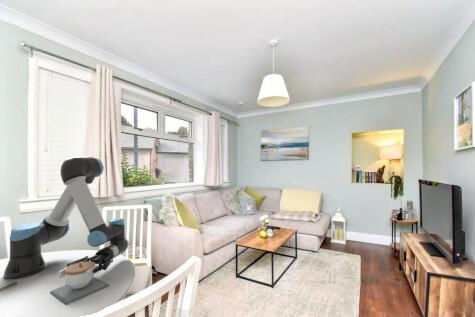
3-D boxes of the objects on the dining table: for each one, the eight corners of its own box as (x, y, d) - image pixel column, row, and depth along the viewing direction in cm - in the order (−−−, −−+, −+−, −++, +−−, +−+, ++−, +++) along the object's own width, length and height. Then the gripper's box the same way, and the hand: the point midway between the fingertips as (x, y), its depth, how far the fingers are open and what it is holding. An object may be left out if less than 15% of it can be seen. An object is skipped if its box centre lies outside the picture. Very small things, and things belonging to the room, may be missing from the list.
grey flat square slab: (49, 292, 94) (49, 291, 94) (91, 276, 108) (91, 275, 108) (66, 305, 85) (66, 303, 85) (109, 286, 99) (109, 284, 99)
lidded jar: (79, 293, 90) (79, 269, 91) (57, 290, 92) (58, 267, 93) (100, 279, 101) (101, 258, 101) (80, 277, 103) (81, 256, 103)
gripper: (128, 262, 114) (100, 284, 92) (84, 261, 115) (46, 283, 93) (128, 247, 114) (100, 266, 92) (84, 246, 115) (46, 265, 93)
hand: (73, 275), depth 93 cm, fingers closed on lidded jar, 11 cm apart
